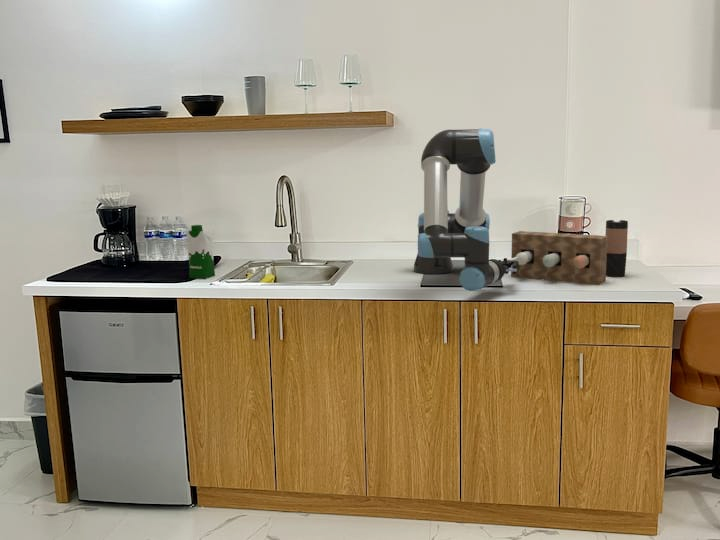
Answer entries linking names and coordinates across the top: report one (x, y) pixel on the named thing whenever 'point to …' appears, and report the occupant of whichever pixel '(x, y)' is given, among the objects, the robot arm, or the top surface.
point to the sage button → (551, 259)
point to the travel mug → (616, 247)
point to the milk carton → (200, 252)
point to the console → (567, 249)
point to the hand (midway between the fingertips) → (516, 261)
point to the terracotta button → (582, 260)
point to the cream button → (525, 257)
